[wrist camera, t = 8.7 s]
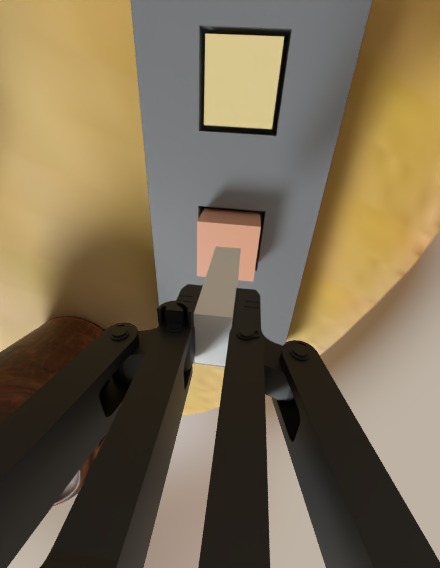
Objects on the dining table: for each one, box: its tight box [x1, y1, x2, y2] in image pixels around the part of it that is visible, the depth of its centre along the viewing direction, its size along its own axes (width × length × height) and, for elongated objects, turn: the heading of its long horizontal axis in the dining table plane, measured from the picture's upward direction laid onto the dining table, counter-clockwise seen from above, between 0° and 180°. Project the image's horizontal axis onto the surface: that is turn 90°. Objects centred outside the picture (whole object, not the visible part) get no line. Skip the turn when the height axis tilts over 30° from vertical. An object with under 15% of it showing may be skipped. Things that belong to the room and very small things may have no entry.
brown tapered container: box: [0, 317, 108, 506], centre depth 33 cm, size 18×20×18 cm
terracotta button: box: [197, 208, 261, 282], centre depth 22 cm, size 5×5×4 cm
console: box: [131, 0, 372, 367], centre depth 25 cm, size 33×14×4 cm, turn 177°
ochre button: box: [204, 34, 284, 129], centre depth 19 cm, size 5×5×4 cm
